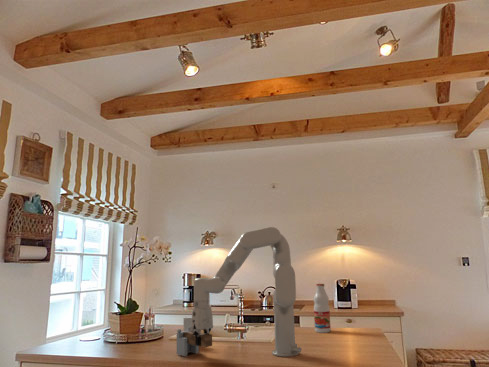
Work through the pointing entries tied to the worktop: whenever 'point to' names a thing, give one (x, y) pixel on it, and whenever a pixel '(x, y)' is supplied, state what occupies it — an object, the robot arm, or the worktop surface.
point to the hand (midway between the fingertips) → (201, 343)
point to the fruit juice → (321, 310)
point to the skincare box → (188, 323)
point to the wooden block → (205, 338)
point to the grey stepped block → (185, 344)
